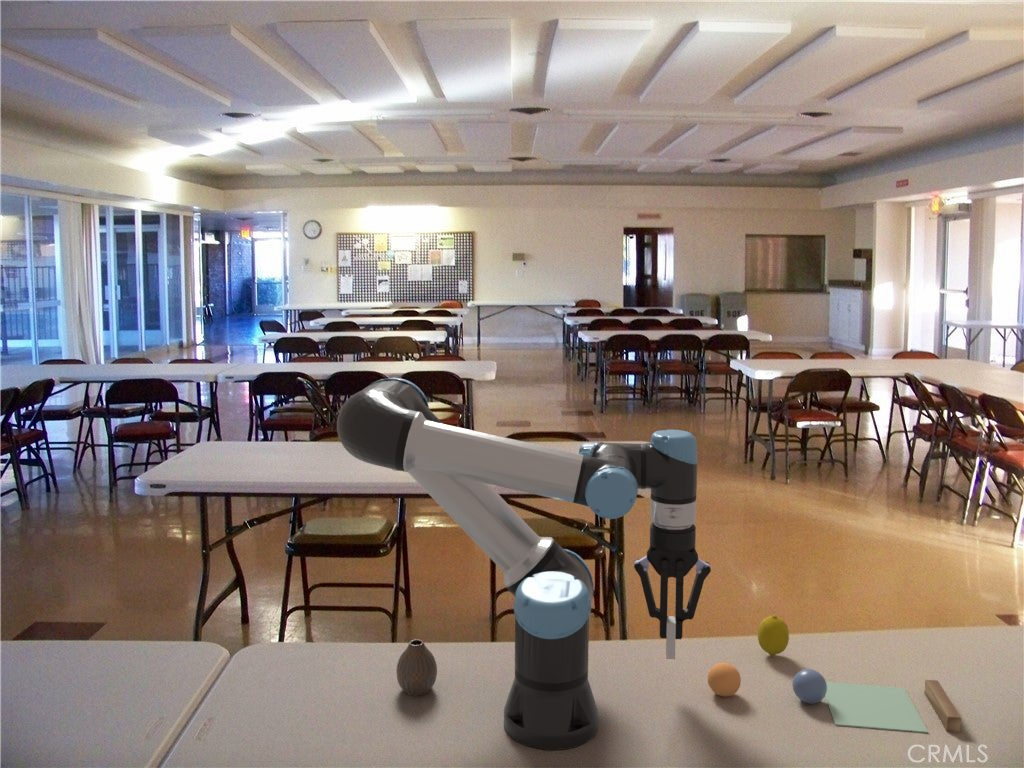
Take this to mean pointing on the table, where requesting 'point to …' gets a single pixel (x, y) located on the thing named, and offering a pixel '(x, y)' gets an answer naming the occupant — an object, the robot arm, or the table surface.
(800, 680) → the ball
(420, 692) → the vase
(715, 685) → the ball
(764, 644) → the lemon
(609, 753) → the table surface
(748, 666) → the table surface
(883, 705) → the mark
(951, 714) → the rail
